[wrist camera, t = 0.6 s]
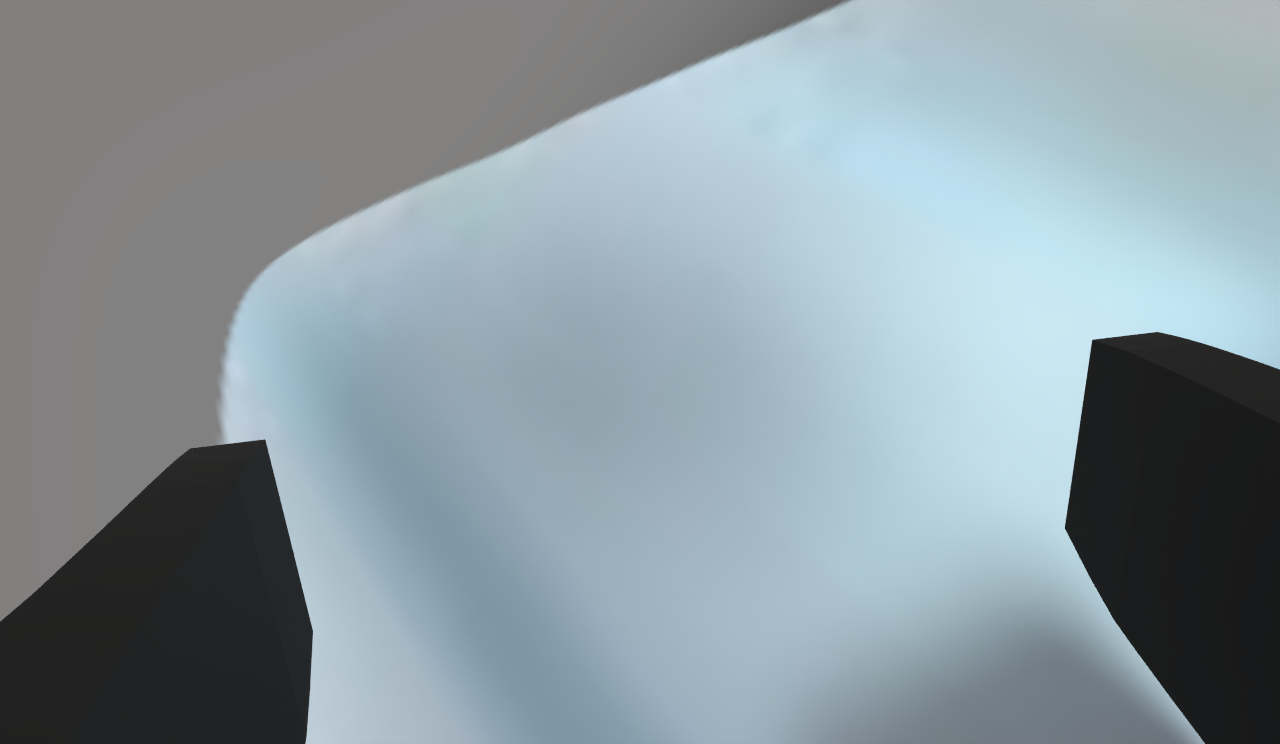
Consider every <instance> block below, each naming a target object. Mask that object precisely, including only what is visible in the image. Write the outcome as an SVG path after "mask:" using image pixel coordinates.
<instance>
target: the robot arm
mask: <svg viewBox="0 0 1280 744" xmlns="http://www.w3.org/2000/svg"><path fill="white" fill-rule="evenodd" d="M1065 529H1066V531H1067V533H1068V535H1069V537H1070V539H1071V541H1072V543H1073V545H1074V547H1075V549H1076V551H1077V553H1078V555H1079V557H1080V559H1081V561H1082V563H1083V565H1084V566H1085V568H1086V570H1087V572H1088V574H1089V576H1090V578H1091V580H1092V582H1093V584H1094V585H1095V587H1096V589H1097V591H1098V592H1099V594H1100V596H1101V598H1102V599H1103V601H1104V603H1105V605H1106V606H1107V608H1108V610H1109V612H1110V614H1111V615H1112V617H1113V619H1114V620H1115V622H1116V623H1117V625H1118V626H1119V627H1120V629H1121V630H1122V632H1123V633H1124V635H1125V636H1126V637H1127V639H1128V640H1129V642H1130V643H1131V644H1132V646H1133V647H1134V648H1135V650H1136V651H1137V653H1138V654H1139V655H1140V657H1141V658H1142V659H1143V661H1144V662H1145V663H1146V665H1147V666H1148V668H1149V669H1150V670H1151V672H1152V673H1153V674H1154V676H1155V677H1156V678H1157V680H1158V681H1159V682H1160V684H1161V685H1162V687H1163V688H1164V689H1165V691H1166V692H1167V693H1168V695H1169V696H1170V697H1171V699H1172V700H1173V701H1174V703H1175V704H1176V705H1177V707H1178V708H1179V709H1180V711H1181V712H1182V713H1183V715H1184V716H1185V717H1186V719H1187V720H1188V721H1189V723H1190V724H1191V725H1192V727H1193V728H1194V729H1195V731H1196V732H1197V733H1198V735H1199V736H1200V737H1201V739H1202V740H1203V741H1204V743H1205V744H1280V370H1279V369H1277V368H1274V367H1271V366H1268V365H1265V364H1263V363H1260V362H1257V361H1254V360H1251V359H1248V358H1245V357H1242V356H1239V355H1236V354H1233V353H1230V352H1227V351H1224V350H1221V349H1218V348H1215V347H1212V346H1209V345H1206V344H1202V343H1199V342H1196V341H1192V340H1189V339H1185V338H1181V337H1177V336H1173V335H1168V334H1164V333H1160V332H1154V333H1146V334H1137V335H1129V336H1121V337H1112V338H1104V339H1096V340H1092V346H1091V353H1090V359H1089V366H1088V373H1087V380H1086V387H1085V394H1084V401H1083V407H1082V414H1081V421H1080V428H1079V435H1078V442H1077V449H1076V455H1075V462H1074V469H1073V476H1072V483H1071V490H1070V497H1069V504H1068V510H1067V517H1066V524H1065ZM312 639H313V630H312V626H311V622H310V618H309V614H308V610H307V606H306V602H305V598H304V594H303V589H302V585H301V581H300V577H299V573H298V569H297V565H296V561H295V557H294V553H293V549H292V545H291V541H290V537H289V533H288V529H287V525H286V521H285V517H284V513H283V509H282V505H281V501H280V497H279V493H278V489H277V485H276V481H275V477H274V473H273V469H272V465H271V461H270V457H269V453H268V449H267V445H266V441H265V440H258V441H249V442H241V443H233V444H224V445H216V446H209V447H199V448H191V449H189V450H188V451H187V452H185V453H184V454H183V455H182V456H180V457H179V458H178V459H177V460H176V461H174V462H173V463H172V464H171V465H170V466H169V467H168V468H166V469H165V470H164V471H163V472H162V473H161V474H160V475H159V476H158V477H157V478H156V479H155V480H154V481H152V482H151V483H150V484H149V485H148V486H147V487H146V488H145V489H144V490H143V491H142V492H141V493H140V494H139V495H138V496H137V497H136V498H135V499H134V500H132V501H131V502H130V503H129V504H128V505H127V506H126V507H125V508H124V509H123V510H122V511H121V512H120V513H119V514H118V515H117V516H116V517H115V518H114V519H113V520H112V521H111V522H109V523H108V524H107V525H106V526H105V527H104V528H103V529H102V530H101V531H100V532H99V533H98V534H97V535H96V536H95V537H94V538H93V539H91V540H90V541H89V542H88V543H87V544H86V545H85V546H84V547H83V548H82V549H81V550H80V551H79V552H78V553H76V554H75V555H74V556H73V557H72V558H71V559H70V560H69V561H68V562H67V563H66V564H65V565H64V566H62V568H60V569H59V570H58V571H57V572H56V573H55V574H54V575H53V576H52V577H51V578H50V579H49V580H47V581H46V582H45V583H44V584H43V585H42V586H41V587H40V588H39V589H38V590H37V591H36V592H34V593H33V594H32V595H31V596H30V597H29V598H28V599H26V600H25V601H24V602H23V603H22V604H21V605H20V606H18V607H17V608H16V609H15V610H13V611H12V612H11V613H10V614H9V615H8V616H6V617H5V618H4V619H3V620H2V621H1V622H0V744H305V742H306V735H307V722H308V708H309V694H310V677H311V658H312Z"/></svg>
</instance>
